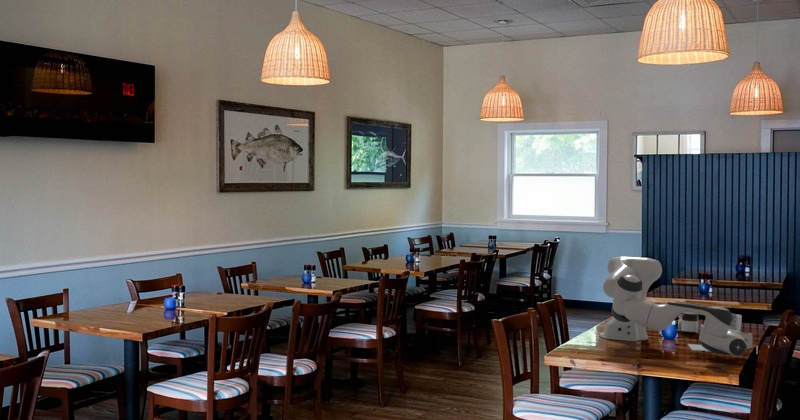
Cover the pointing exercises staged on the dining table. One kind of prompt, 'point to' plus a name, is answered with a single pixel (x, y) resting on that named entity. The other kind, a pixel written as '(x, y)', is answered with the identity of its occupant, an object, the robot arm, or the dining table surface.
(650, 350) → the dining table surface
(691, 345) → the mat
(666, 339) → the dining table surface
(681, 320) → the spread jar
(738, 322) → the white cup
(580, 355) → the dining table surface
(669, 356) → the dining table surface
